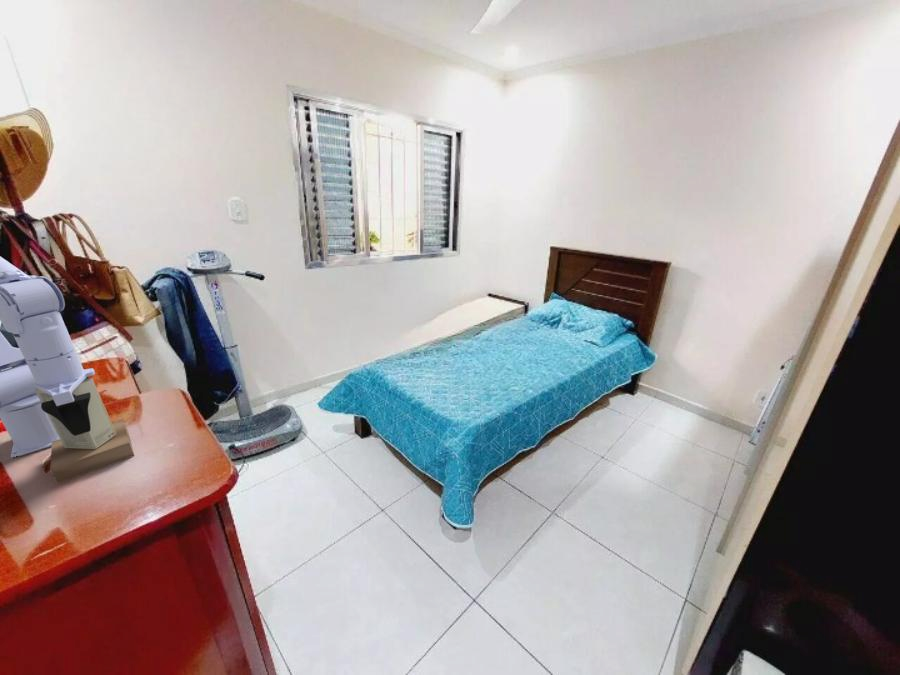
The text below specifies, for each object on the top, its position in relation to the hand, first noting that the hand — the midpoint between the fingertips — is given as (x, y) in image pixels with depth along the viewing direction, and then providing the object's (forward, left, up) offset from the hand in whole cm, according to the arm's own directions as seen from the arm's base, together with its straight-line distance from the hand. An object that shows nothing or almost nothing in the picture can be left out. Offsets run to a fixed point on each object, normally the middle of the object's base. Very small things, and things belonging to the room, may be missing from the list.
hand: (81, 422), depth 64 cm
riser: (0, 0, -7) cm, 7 cm away
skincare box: (0, 0, -4) cm, 4 cm away
